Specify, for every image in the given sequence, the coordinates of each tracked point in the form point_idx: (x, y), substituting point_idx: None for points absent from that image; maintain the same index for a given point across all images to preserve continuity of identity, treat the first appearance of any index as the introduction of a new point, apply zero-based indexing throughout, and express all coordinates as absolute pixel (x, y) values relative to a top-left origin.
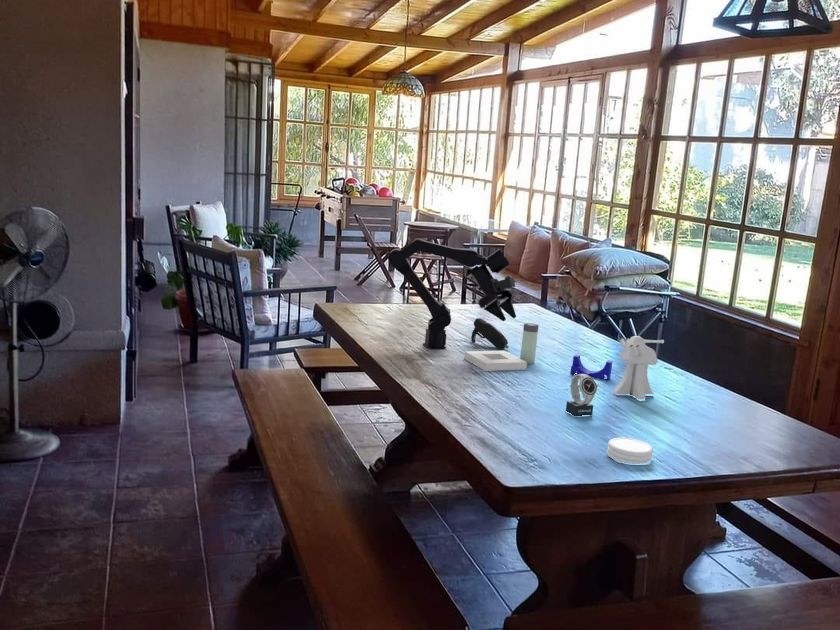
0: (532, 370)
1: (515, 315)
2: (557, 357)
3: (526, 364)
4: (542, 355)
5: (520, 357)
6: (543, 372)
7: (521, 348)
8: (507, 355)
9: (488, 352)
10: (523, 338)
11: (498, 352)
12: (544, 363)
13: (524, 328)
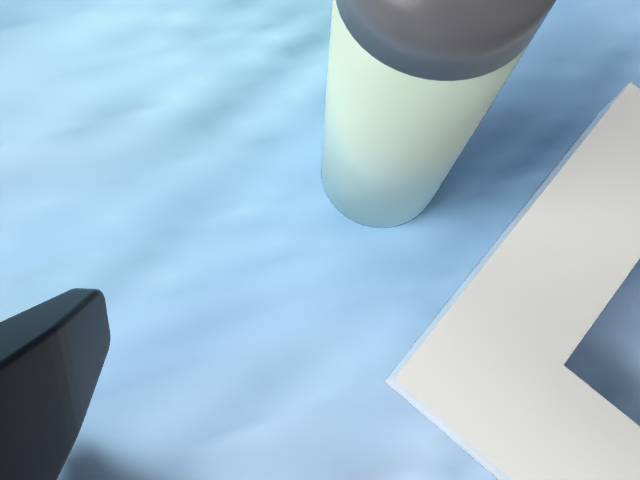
0: (579, 72)
1: (84, 296)
2: (35, 39)
3: (619, 93)
4: (46, 145)
5: (421, 206)
6: (565, 3)
7: (440, 174)
8: (558, 281)
9: (605, 477)
10: (486, 108)
11: (518, 393)
12: (307, 63)
13: (534, 31)
